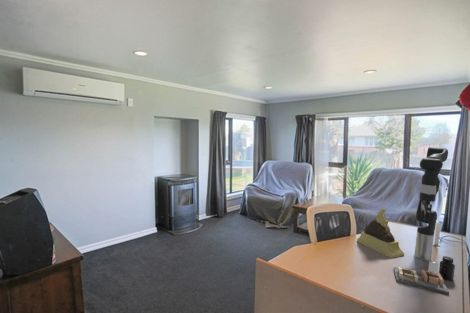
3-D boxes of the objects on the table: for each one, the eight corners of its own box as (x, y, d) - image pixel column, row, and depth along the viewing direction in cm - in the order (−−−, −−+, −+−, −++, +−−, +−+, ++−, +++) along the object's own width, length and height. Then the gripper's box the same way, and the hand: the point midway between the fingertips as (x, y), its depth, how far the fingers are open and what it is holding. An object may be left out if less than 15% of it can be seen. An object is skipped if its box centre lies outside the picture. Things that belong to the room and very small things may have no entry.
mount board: (393, 269, 159) (394, 262, 159) (440, 280, 149) (441, 272, 149) (396, 281, 145) (397, 274, 144) (448, 295, 135) (450, 286, 134)
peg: (426, 277, 149) (428, 260, 148) (435, 279, 147) (437, 262, 146) (427, 280, 145) (430, 263, 144) (436, 282, 143) (439, 265, 143)
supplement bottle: (446, 275, 156) (449, 255, 155) (456, 281, 149) (459, 261, 148) (435, 274, 155) (437, 255, 154) (444, 281, 149) (447, 260, 148)
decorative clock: (404, 255, 179) (408, 213, 177) (390, 258, 174) (395, 214, 172) (369, 239, 205) (373, 202, 203) (356, 241, 200) (360, 203, 198)
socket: (421, 274, 152) (421, 269, 151) (438, 278, 148) (439, 273, 148) (424, 281, 144) (424, 276, 144) (443, 285, 140) (443, 280, 140)
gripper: (417, 189, 163) (415, 215, 164) (422, 193, 150) (419, 221, 151) (432, 191, 159) (429, 217, 161) (438, 195, 147) (435, 223, 148)
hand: (424, 219), depth 156 cm, fingers open, 8 cm apart
